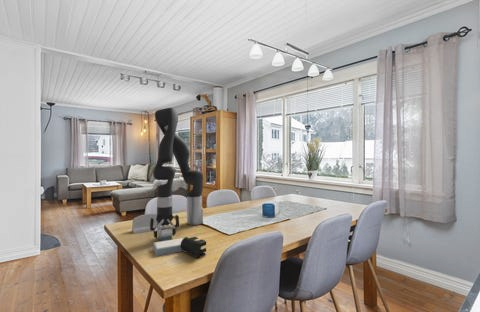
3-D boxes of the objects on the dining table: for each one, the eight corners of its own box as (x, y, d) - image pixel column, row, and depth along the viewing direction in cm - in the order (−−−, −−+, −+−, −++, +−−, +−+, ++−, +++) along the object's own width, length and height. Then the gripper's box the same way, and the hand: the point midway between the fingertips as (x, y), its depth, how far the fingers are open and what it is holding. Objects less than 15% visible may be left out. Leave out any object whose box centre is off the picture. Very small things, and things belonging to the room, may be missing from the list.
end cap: (180, 253, 111) (180, 238, 111) (193, 249, 117) (193, 234, 116) (193, 260, 104) (193, 244, 104) (207, 255, 110) (206, 239, 109)
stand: (183, 243, 123) (183, 237, 123) (188, 250, 115) (187, 243, 115) (153, 248, 117) (153, 242, 117) (156, 256, 109) (156, 249, 109)
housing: (168, 236, 134) (167, 222, 134) (171, 242, 125) (171, 227, 125) (158, 237, 132) (158, 223, 132) (161, 244, 123) (161, 229, 123)
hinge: (133, 233, 138) (131, 215, 140) (131, 234, 141) (130, 216, 144) (163, 228, 146) (162, 211, 149) (161, 229, 150) (160, 212, 153)
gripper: (177, 202, 134) (177, 232, 135) (149, 205, 128) (149, 236, 128) (180, 205, 128) (180, 236, 128) (150, 208, 121) (151, 241, 122)
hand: (164, 236), depth 128 cm, fingers open, 8 cm apart
